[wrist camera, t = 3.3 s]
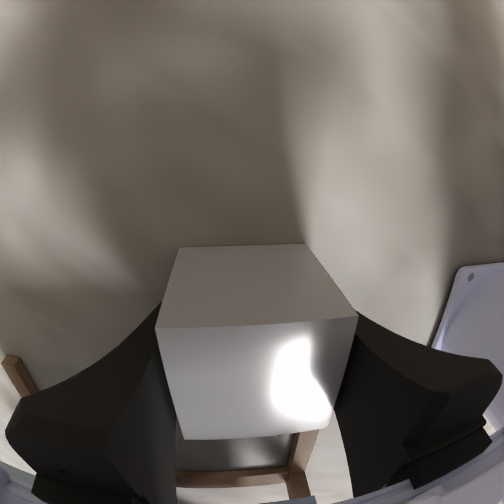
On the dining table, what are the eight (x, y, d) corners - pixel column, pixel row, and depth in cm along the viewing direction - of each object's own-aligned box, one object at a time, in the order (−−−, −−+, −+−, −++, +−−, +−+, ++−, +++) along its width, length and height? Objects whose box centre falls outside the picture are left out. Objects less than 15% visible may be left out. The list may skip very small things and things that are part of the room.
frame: (331, 361, 14) (389, 492, 7) (298, 474, 19) (317, 549, 12) (6, 355, 12) (-48, 448, 5) (85, 469, 17) (72, 537, 10)
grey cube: (305, 243, 11) (358, 315, 7) (296, 341, 13) (327, 427, 9) (179, 247, 11) (155, 328, 6) (190, 347, 13) (184, 439, 8)
